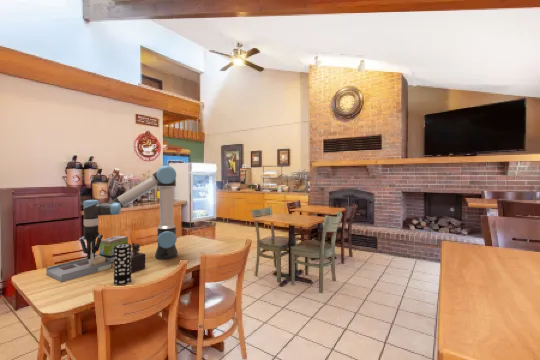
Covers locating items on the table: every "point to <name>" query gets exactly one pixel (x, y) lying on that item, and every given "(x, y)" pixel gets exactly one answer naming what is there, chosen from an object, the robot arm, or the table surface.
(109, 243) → the tea box
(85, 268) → the track
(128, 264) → the spotted tube
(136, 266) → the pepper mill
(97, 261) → the block
